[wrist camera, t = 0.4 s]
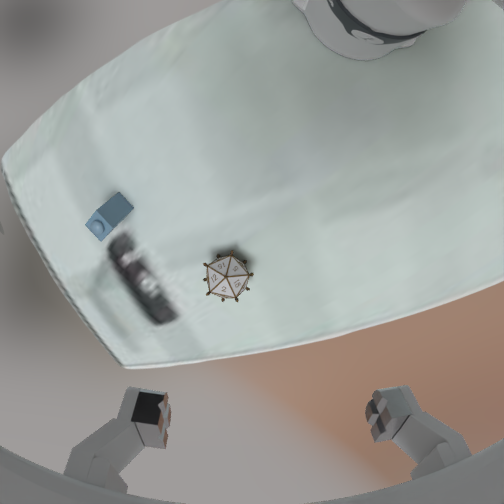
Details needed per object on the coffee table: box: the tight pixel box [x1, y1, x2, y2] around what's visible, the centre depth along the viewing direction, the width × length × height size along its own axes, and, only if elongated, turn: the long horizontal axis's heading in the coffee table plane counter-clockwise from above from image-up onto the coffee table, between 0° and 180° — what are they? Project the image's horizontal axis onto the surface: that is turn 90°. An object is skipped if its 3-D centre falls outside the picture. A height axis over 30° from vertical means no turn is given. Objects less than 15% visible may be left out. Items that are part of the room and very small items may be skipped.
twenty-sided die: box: [203, 250, 254, 302], centre depth 50 cm, size 9×8×10 cm
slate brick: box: [85, 192, 134, 241], centre depth 46 cm, size 4×4×9 cm
